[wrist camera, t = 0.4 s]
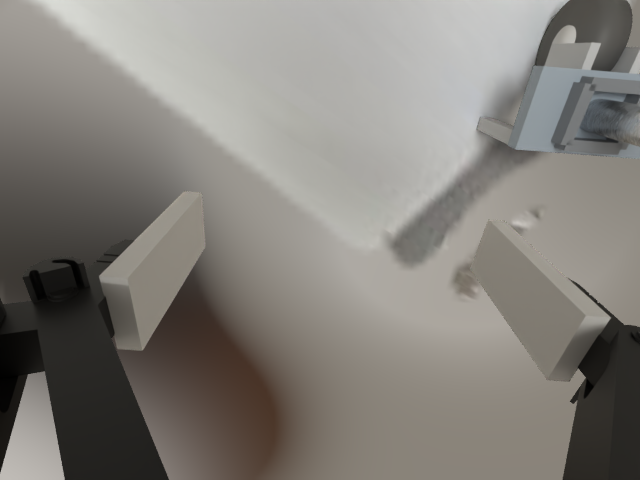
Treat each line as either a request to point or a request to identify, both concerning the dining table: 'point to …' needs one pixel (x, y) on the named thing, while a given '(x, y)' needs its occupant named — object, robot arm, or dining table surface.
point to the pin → (613, 120)
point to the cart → (576, 82)
